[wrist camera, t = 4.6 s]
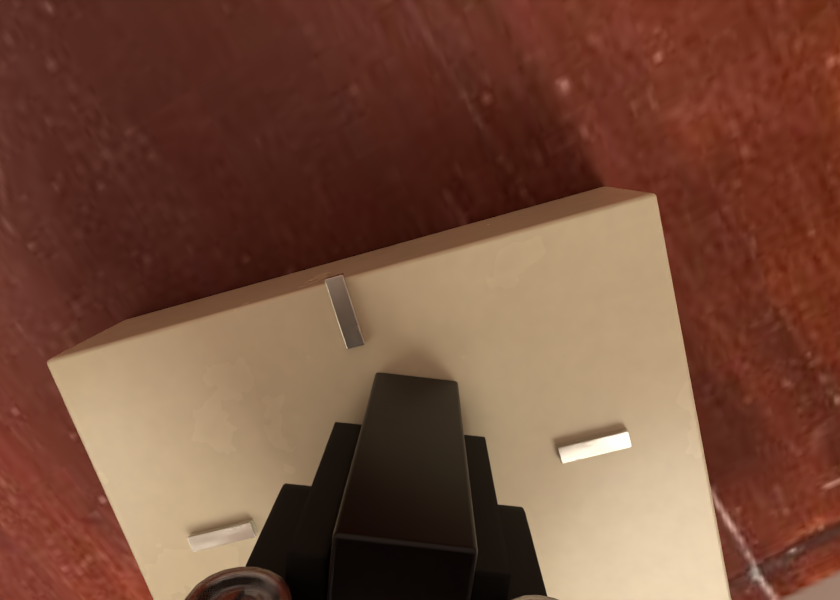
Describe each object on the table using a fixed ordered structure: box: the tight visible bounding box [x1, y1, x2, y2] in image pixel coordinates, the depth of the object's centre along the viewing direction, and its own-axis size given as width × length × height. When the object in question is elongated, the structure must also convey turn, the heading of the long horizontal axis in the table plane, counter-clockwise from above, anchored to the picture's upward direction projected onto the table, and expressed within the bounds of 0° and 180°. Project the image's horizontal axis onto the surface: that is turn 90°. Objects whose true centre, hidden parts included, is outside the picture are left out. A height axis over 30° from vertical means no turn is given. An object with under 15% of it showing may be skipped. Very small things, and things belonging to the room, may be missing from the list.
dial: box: [327, 372, 478, 600], centre depth 9 cm, size 5×2×5 cm, turn 173°
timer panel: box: [47, 186, 731, 600], centre depth 13 cm, size 12×9×3 cm
